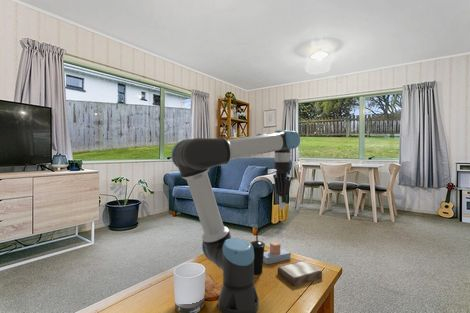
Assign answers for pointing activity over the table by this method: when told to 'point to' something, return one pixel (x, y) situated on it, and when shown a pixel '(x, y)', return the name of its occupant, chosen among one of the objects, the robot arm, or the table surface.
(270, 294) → the table surface
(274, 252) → the blue base with cube
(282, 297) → the table surface
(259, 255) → the black tall container
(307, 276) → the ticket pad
